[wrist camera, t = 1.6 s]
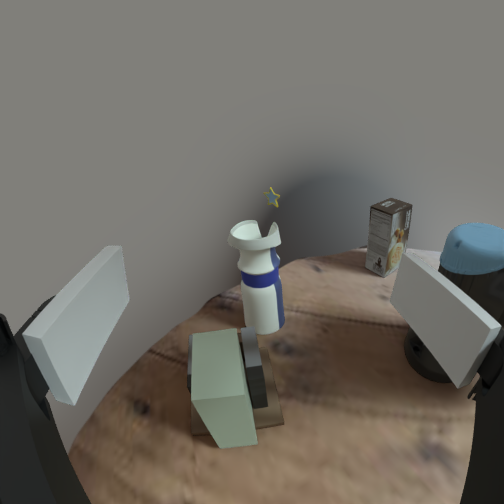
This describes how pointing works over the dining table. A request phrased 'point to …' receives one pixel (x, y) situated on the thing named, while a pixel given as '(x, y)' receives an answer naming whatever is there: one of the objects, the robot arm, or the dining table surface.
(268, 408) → the band guide
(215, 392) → the sage block
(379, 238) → the food box
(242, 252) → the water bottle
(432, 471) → the dining table surface
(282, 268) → the dining table surface
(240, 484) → the dining table surface
